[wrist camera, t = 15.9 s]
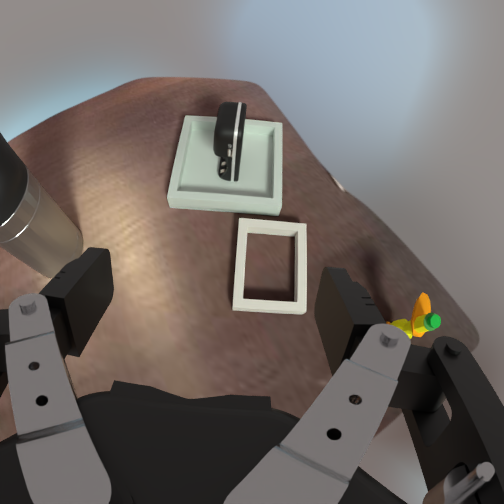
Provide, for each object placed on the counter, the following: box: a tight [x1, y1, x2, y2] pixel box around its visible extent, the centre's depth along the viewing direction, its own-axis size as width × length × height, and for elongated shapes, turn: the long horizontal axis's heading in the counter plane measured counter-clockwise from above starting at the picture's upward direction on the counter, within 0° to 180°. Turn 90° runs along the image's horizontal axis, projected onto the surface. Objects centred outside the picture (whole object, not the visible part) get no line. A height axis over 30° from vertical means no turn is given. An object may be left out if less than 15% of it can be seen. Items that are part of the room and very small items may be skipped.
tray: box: [167, 116, 282, 216], centre depth 48 cm, size 16×16×3 cm
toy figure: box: [386, 293, 441, 339], centre depth 37 cm, size 7×4×12 cm, turn 161°
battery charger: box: [213, 102, 247, 182], centre depth 43 cm, size 7×4×11 cm, turn 175°
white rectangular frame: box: [232, 218, 307, 314], centre depth 44 cm, size 9×12×2 cm
